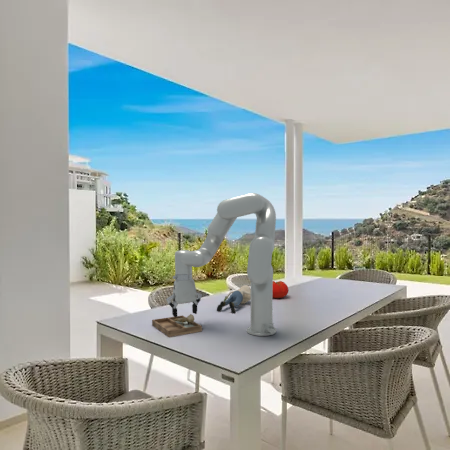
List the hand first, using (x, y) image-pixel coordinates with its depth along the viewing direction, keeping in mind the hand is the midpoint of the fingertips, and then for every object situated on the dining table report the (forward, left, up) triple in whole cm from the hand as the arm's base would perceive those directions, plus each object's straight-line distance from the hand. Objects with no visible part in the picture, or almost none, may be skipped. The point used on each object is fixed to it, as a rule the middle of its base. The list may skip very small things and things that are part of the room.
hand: (185, 314), depth 172 cm
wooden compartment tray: (0, +4, -6) cm, 7 cm away
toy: (+21, -42, -6) cm, 48 cm away
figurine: (+1, 0, -5) cm, 5 cm away
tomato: (+30, -76, -6) cm, 82 cm away
